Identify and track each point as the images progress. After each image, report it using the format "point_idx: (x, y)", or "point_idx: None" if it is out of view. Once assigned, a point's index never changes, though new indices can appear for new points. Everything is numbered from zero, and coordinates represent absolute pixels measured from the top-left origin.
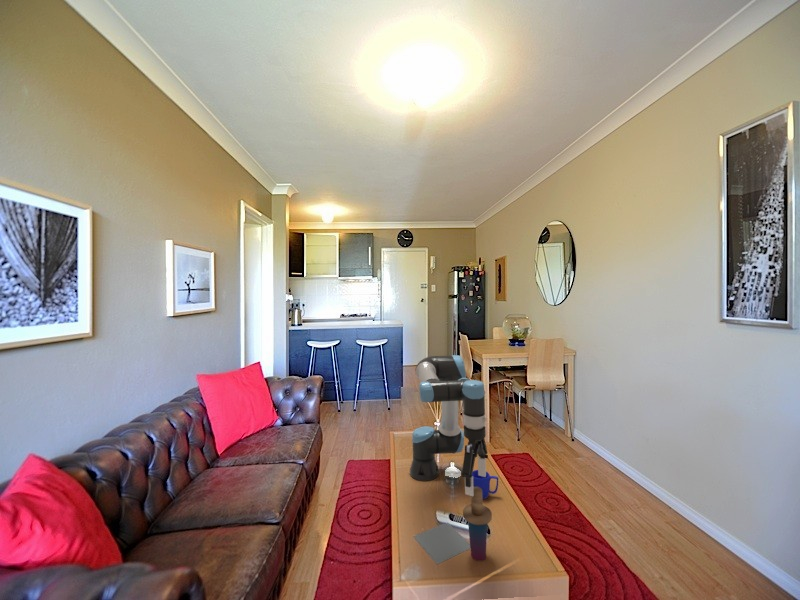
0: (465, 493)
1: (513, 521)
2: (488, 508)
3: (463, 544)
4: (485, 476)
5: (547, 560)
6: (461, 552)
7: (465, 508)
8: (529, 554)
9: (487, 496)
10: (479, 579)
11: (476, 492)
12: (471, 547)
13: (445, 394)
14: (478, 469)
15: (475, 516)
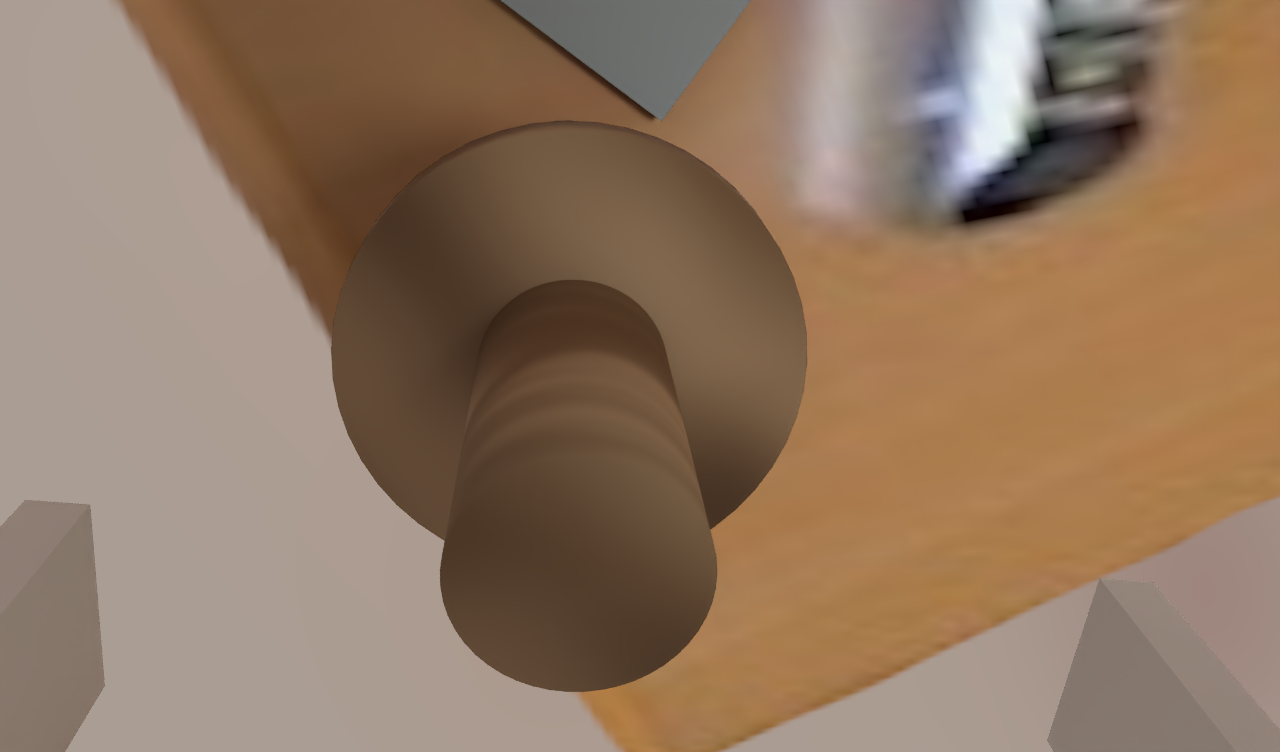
0: (15, 520)
1: (1209, 411)
2: (739, 501)
3: (659, 8)
4: (1064, 748)
5: (766, 703)
6: (528, 19)
7: (597, 165)
8: (786, 585)
9: None
10: (307, 259)
11: (461, 605)
12: None
13: None
14: (1179, 699)
15: (452, 370)
